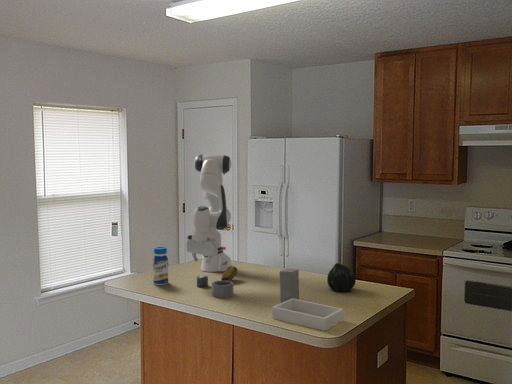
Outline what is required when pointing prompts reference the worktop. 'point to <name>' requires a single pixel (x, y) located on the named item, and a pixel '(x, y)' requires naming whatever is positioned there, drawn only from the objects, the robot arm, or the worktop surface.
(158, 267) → the beverage bottle
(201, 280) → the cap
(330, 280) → the squash
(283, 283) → the skincare box
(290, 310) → the frame
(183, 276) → the worktop surface
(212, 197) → the robot arm
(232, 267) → the potato
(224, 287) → the faceted grey cup
